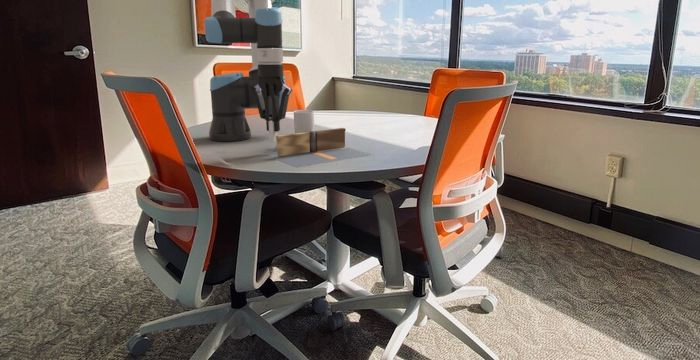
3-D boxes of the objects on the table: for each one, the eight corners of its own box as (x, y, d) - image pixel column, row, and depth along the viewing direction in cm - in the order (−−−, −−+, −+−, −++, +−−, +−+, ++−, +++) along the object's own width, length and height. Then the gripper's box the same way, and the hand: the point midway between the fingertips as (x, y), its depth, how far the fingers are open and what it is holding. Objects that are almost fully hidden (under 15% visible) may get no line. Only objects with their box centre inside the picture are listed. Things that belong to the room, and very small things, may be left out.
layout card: (262, 155, 144) (262, 153, 143) (334, 144, 159) (334, 143, 159) (296, 169, 127) (296, 167, 127) (372, 156, 143) (372, 154, 143)
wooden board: (307, 151, 146) (306, 132, 144) (310, 152, 144) (309, 132, 143) (276, 155, 140) (275, 135, 138) (279, 156, 138) (278, 136, 137)
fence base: (308, 151, 146) (307, 131, 144) (342, 146, 154) (342, 127, 152) (311, 152, 145) (311, 132, 143) (345, 147, 152) (345, 128, 150)
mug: (316, 148, 154) (315, 112, 150) (295, 149, 152) (294, 112, 149) (311, 142, 163) (311, 108, 160) (292, 143, 162) (291, 108, 158)
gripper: (244, 63, 136) (249, 142, 142) (283, 64, 131) (286, 145, 138) (258, 63, 142) (261, 138, 149) (295, 63, 138) (298, 141, 144)
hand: (273, 141), depth 143 cm, fingers closed
